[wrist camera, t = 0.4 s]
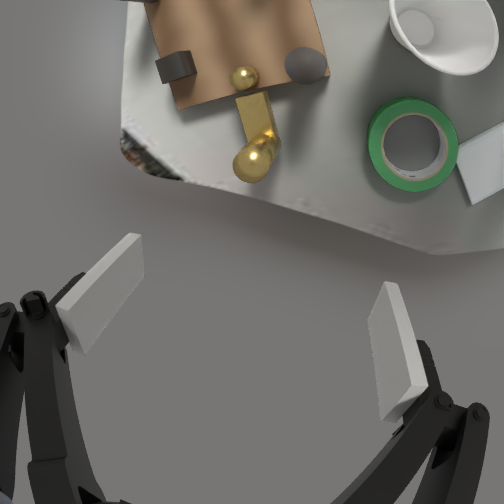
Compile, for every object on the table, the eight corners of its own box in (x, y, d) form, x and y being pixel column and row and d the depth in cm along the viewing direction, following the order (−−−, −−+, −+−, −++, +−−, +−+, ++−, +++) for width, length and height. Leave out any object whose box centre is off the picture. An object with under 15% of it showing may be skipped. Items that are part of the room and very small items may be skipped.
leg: (232, 70, 28) (203, 75, 22) (260, 62, 27) (238, 65, 21) (257, 158, 34) (238, 185, 28) (284, 153, 33) (270, 180, 27)
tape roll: (349, 151, 33) (350, 158, 31) (396, 78, 26) (401, 80, 24) (418, 199, 34) (422, 209, 32) (466, 135, 27) (475, 141, 25)
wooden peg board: (288, -59, 18) (269, -95, 10) (330, 74, 28) (329, 81, 20) (149, -10, 25) (95, -18, 17) (187, 106, 34) (141, 128, 26)
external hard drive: (447, 148, 29) (517, 111, 22) (468, 200, 32) (532, 165, 25) (452, 152, 28) (523, 114, 21) (472, 206, 31) (538, 170, 24)
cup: (454, 2, 17) (497, -11, 9) (452, 77, 24) (496, 91, 15) (371, -19, 20) (386, -48, 11) (371, 58, 26) (388, 59, 17)
